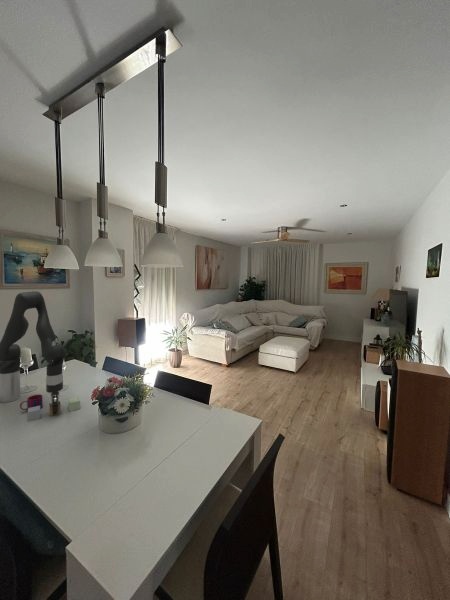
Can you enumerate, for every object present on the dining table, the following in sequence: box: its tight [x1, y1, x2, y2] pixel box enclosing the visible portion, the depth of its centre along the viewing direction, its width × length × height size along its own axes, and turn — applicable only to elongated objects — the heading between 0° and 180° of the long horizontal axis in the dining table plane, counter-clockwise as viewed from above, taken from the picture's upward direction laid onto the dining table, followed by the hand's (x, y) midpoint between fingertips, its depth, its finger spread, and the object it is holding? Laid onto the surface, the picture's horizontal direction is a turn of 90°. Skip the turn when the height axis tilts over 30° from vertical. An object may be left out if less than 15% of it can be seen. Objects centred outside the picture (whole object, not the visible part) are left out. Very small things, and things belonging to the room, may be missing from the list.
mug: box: [19, 394, 43, 411], centre depth 134 cm, size 7×10×7 cm
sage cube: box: [68, 396, 81, 412], centre depth 137 cm, size 5×5×5 cm
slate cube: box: [27, 406, 41, 422], centre depth 126 cm, size 5×5×5 cm
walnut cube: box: [48, 400, 62, 417], centre depth 132 cm, size 5×5×5 cm
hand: (55, 411), depth 132 cm, fingers closed on walnut cube, 5 cm apart
